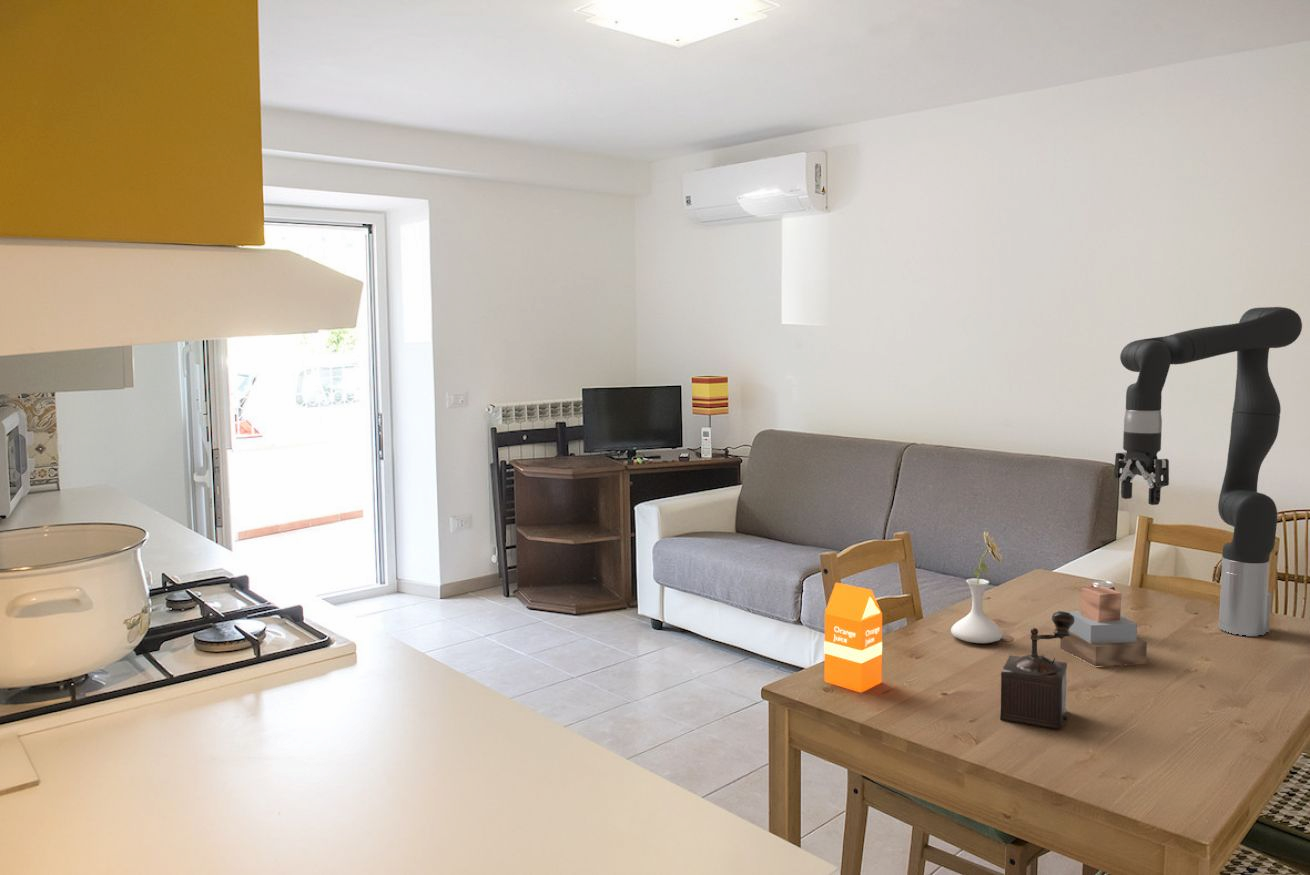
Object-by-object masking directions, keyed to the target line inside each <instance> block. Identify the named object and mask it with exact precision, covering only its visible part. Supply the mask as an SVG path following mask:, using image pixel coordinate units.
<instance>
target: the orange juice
mask: <svg viewBox="0 0 1310 875" xmlns="http://www.w3.org/2000/svg"><path fill="white" fill-rule="evenodd" d="M823 642H824V648H823V649H824V651H823V653H824V682H825V683H827V684H830V685H831V684H832V685H833V686H834V685H835V686H838V687H841V688H844V689H848V690H851V691H855V692H857V693H863V692H866V691H868V690H869V689H871V688H873V687H875V686H877V685H879V684H882V677H883V676H882V672H883V671H882V670H883V668H882V666H883V665H882V663H883V662H882V661H883V657H882V656H883V612H882V610H881V609H880V606H879V604H878V602H877V600H876V597H875V595H874V592H873V590H872V589H870V588H869V589H868V588H865V587H861V586H860V587H858V586H854V585H850V584H846V583H840V582H835V583H834V586H833V588H832V593H831V594H830V597H829V600H828V602H827V605H826V608H825V610H824V641H823Z"/></svg>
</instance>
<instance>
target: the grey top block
mask: <svg viewBox="0 0 1310 875" xmlns="http://www.w3.org/2000/svg"><path fill="white" fill-rule="evenodd" d="M1067 612H1068V613H1070V614H1071V615H1072V616H1074V624H1073V625H1072V626H1071V627H1070V628H1069V631H1071V632H1073V633H1074V634H1076V635H1077V636H1079V637H1080V638H1082V639H1084V640H1085V641H1087V642H1088V643H1090V644H1099V643H1131V642H1137V638H1138V637H1137V636H1138V635H1137V634H1138V623H1137V622H1135V621H1133V620H1131V619H1129V618H1127V617H1125V616H1123V615H1121V614H1120V620H1116V621H1106V622H1096V621H1094V620H1092V619H1089V618H1087V617H1085V616H1082V615H1081V610H1079V611H1074V610H1073V611H1067Z"/></svg>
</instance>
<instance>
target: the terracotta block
mask: <svg viewBox="0 0 1310 875" xmlns="http://www.w3.org/2000/svg"><path fill="white" fill-rule="evenodd" d="M1080 598H1081V600H1080V611H1081V615H1082V616H1085V617H1087V618H1089V619H1092V620H1094V621H1096V622H1106V621H1116V620H1120V615H1121V612H1122V611H1121V610H1122V592H1120V591H1117V590H1116V589H1115V590H1112V589H1110V588H1107V587H1104V586H1099V587H1091V586H1090V587H1081V596H1080Z"/></svg>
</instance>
